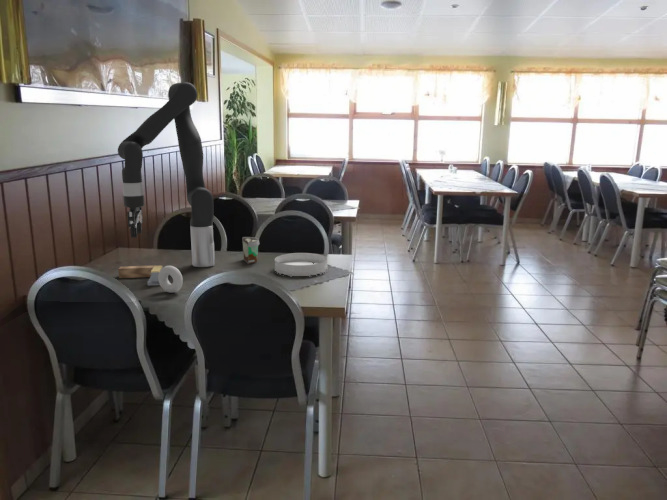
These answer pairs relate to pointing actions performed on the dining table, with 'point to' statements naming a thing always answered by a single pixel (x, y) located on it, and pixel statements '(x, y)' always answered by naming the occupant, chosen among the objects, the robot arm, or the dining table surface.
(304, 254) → the dish
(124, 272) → the walnut bar
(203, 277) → the dining table surface
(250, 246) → the food container
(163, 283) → the donut
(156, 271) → the ridge block
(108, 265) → the dining table surface
